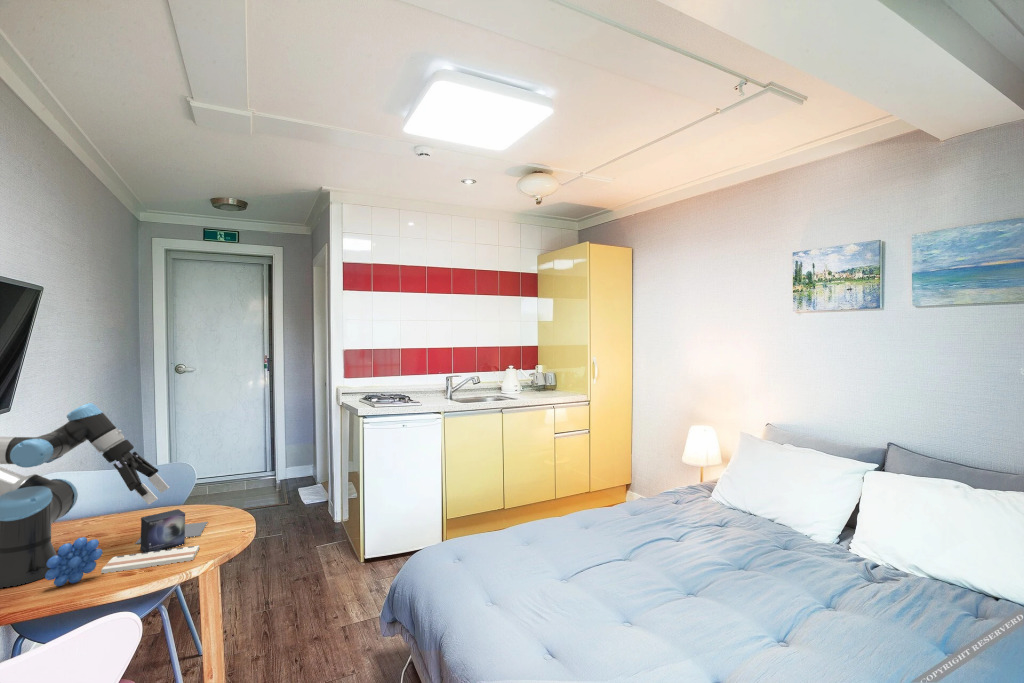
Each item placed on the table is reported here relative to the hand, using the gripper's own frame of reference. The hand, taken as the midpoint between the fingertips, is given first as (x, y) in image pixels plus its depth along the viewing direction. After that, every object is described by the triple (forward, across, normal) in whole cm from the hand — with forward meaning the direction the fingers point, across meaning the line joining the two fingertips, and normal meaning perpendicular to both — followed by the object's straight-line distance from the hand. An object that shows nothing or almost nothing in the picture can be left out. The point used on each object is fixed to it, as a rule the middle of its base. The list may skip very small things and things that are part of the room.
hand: (159, 496), depth 159 cm
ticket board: (+14, -16, +7) cm, 22 cm away
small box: (+14, -5, +7) cm, 16 cm away
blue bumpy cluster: (+5, -23, +20) cm, 31 cm away
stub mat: (+14, +8, +7) cm, 17 cm away
